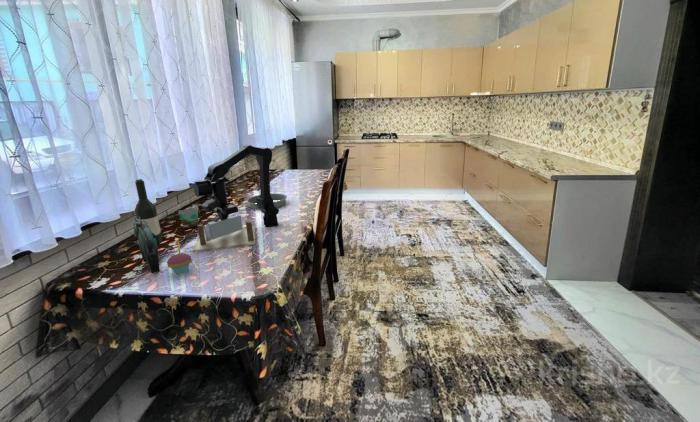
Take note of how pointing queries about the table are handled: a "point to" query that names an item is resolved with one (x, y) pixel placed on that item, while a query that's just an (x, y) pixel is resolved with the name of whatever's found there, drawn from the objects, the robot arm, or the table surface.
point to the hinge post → (201, 234)
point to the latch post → (249, 230)
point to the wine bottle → (147, 210)
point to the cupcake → (179, 262)
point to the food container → (189, 216)
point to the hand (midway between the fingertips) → (224, 224)
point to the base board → (227, 241)
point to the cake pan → (274, 197)
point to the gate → (223, 227)
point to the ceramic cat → (147, 244)
